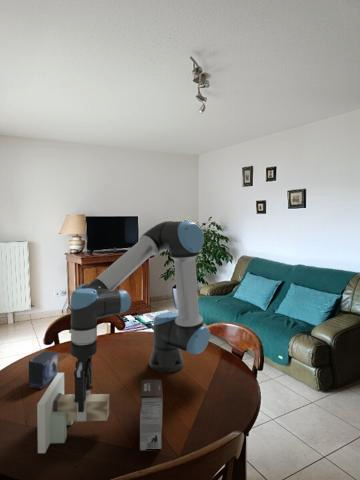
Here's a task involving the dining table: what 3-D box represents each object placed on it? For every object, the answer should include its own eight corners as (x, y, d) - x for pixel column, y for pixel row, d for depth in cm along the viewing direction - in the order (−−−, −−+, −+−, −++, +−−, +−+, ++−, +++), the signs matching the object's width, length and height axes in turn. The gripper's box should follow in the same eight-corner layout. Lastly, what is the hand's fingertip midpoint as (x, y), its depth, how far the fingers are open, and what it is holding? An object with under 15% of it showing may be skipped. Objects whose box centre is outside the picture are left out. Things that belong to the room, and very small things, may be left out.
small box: (42, 390, 119) (42, 363, 118) (27, 388, 120) (27, 361, 120) (59, 376, 130) (58, 351, 129) (44, 375, 131) (44, 350, 130)
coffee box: (140, 429, 97) (140, 379, 96) (161, 428, 98) (161, 378, 97) (139, 451, 88) (139, 395, 87) (162, 450, 89) (162, 394, 88)
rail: (109, 412, 99) (109, 392, 99) (106, 420, 95) (107, 400, 94) (58, 413, 98) (58, 393, 97) (53, 421, 94) (53, 400, 93)
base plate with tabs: (76, 412, 105) (76, 372, 104) (60, 452, 87) (59, 403, 87) (58, 413, 105) (57, 372, 104) (37, 453, 87) (37, 404, 86)
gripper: (78, 331, 103) (78, 400, 105) (62, 352, 86) (62, 434, 88) (101, 330, 104) (101, 399, 105) (90, 352, 87) (90, 434, 88)
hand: (83, 415), depth 96 cm, fingers closed on rail, 4 cm apart
